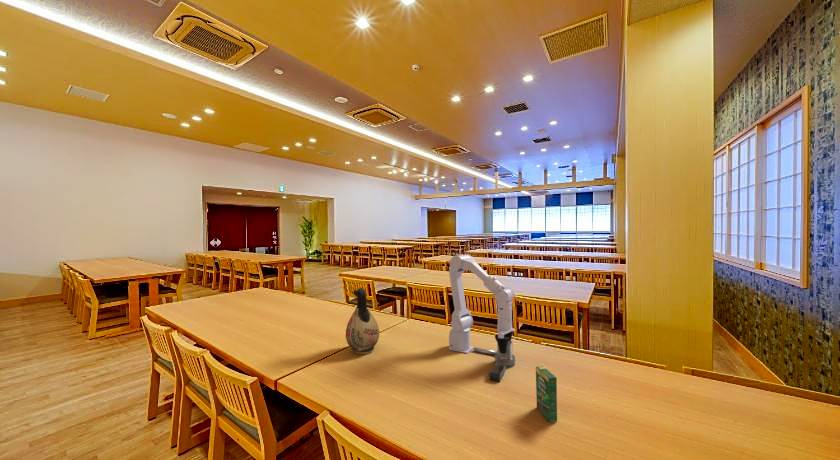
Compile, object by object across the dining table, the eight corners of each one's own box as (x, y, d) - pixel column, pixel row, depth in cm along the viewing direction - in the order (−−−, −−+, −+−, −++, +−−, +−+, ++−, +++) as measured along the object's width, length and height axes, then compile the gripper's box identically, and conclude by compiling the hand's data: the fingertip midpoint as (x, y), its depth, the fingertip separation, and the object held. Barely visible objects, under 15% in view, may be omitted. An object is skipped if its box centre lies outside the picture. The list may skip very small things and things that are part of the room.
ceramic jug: (342, 347, 147) (341, 285, 146) (374, 342, 153) (373, 282, 153) (350, 362, 131) (349, 292, 131) (385, 355, 138) (384, 288, 137)
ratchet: (484, 378, 116) (484, 362, 116) (497, 357, 134) (497, 343, 134) (505, 383, 112) (505, 366, 112) (516, 361, 130) (516, 346, 130)
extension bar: (472, 351, 141) (472, 347, 140) (473, 350, 142) (473, 346, 142) (500, 357, 135) (500, 353, 134) (501, 355, 136) (501, 351, 136)
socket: (497, 356, 127) (497, 343, 127) (500, 351, 132) (500, 339, 132) (510, 359, 125) (510, 345, 125) (512, 354, 130) (512, 341, 129)
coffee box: (535, 406, 98) (535, 365, 98) (543, 405, 98) (543, 365, 98) (548, 422, 90) (548, 378, 90) (557, 422, 90) (557, 377, 90)
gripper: (510, 323, 120) (511, 358, 120) (517, 314, 133) (518, 345, 133) (492, 321, 123) (493, 355, 123) (501, 312, 136) (501, 342, 136)
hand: (504, 349), depth 128 cm, fingers open, 7 cm apart
